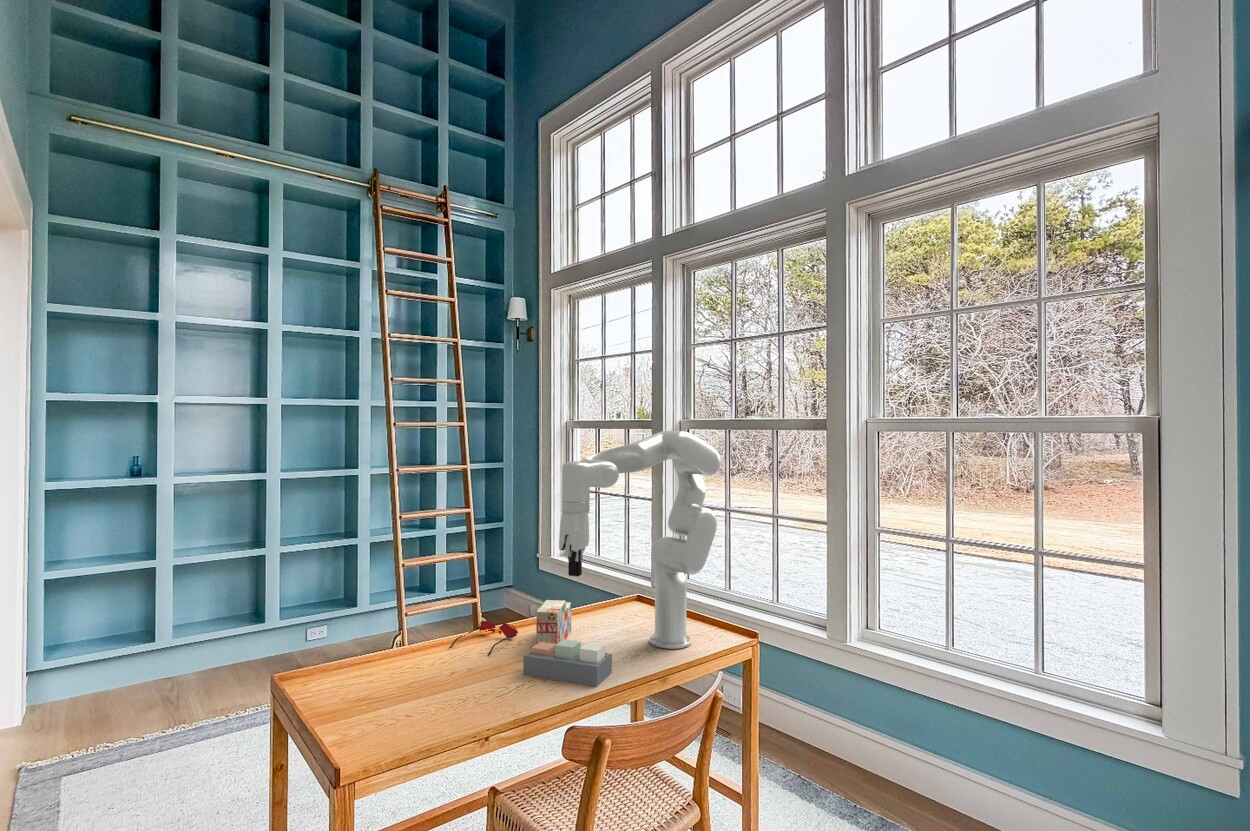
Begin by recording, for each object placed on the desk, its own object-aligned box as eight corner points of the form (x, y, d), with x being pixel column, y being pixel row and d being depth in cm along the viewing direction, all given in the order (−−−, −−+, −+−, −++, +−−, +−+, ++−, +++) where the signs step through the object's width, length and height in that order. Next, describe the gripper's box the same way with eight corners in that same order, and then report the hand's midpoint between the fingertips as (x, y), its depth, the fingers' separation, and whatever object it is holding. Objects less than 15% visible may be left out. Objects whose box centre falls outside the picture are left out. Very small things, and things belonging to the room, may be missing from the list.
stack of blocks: (552, 630, 212) (552, 591, 212) (571, 631, 211) (571, 592, 211) (535, 653, 190) (536, 610, 190) (557, 654, 190) (557, 611, 190)
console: (541, 662, 184) (541, 643, 184) (611, 672, 176) (611, 653, 176) (523, 674, 174) (523, 655, 174) (596, 686, 167) (597, 666, 167)
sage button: (563, 657, 178) (563, 639, 178) (580, 660, 177) (580, 641, 177) (555, 664, 174) (555, 645, 174) (572, 666, 172) (572, 647, 172)
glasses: (518, 640, 203) (519, 624, 203) (488, 658, 188) (488, 640, 188) (480, 634, 208) (480, 618, 208) (447, 651, 193) (447, 634, 193)
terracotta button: (540, 660, 181) (540, 641, 181) (556, 662, 179) (556, 644, 179) (531, 666, 176) (531, 647, 176) (548, 669, 174) (548, 650, 174)
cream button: (587, 661, 176) (587, 642, 176) (604, 664, 174) (604, 644, 174) (579, 667, 171) (579, 648, 171) (597, 670, 170) (597, 651, 170)
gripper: (574, 503, 188) (574, 568, 187) (550, 510, 174) (549, 580, 173) (599, 504, 185) (598, 570, 185) (576, 511, 171) (575, 583, 171)
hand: (575, 575), depth 179 cm, fingers closed
